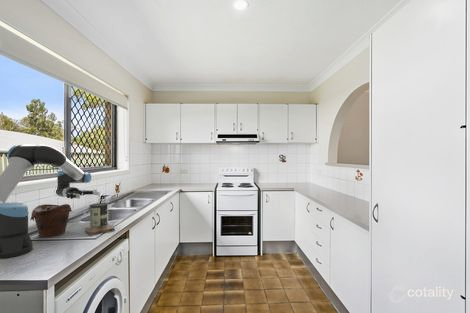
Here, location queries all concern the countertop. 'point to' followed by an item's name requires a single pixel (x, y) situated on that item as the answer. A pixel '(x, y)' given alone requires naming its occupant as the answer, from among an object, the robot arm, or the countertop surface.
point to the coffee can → (98, 214)
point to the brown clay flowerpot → (51, 219)
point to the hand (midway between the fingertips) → (89, 194)
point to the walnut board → (99, 229)
